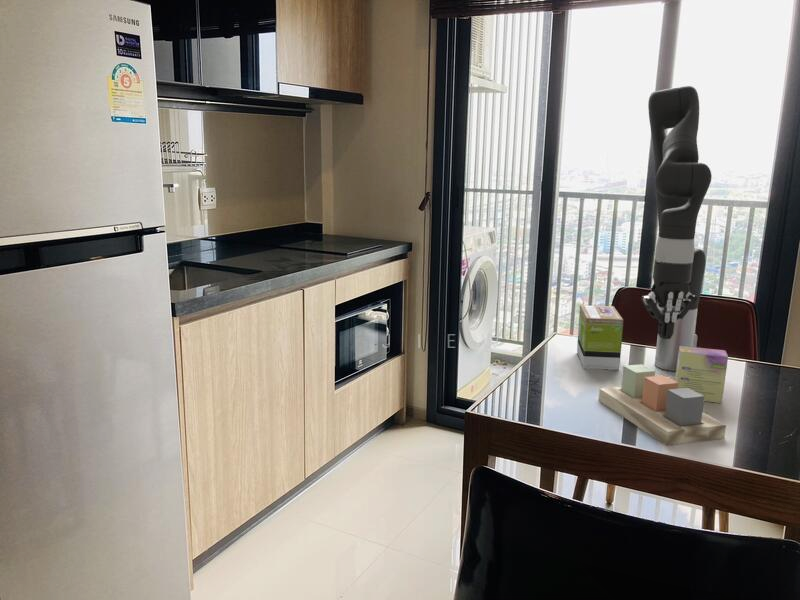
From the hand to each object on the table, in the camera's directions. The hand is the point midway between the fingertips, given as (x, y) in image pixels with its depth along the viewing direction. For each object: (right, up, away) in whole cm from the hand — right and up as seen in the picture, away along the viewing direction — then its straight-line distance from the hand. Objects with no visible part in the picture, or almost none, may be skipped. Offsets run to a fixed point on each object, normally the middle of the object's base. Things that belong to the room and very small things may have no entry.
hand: (664, 338), depth 142 cm
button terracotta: (0, -16, +4) cm, 16 cm away
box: (+15, -16, +17) cm, 28 cm away
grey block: (+2, -17, -4) cm, 18 cm away
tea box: (-2, -9, +43) cm, 44 cm away
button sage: (-2, -14, +11) cm, 18 cm away
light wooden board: (0, -18, +4) cm, 19 cm away
